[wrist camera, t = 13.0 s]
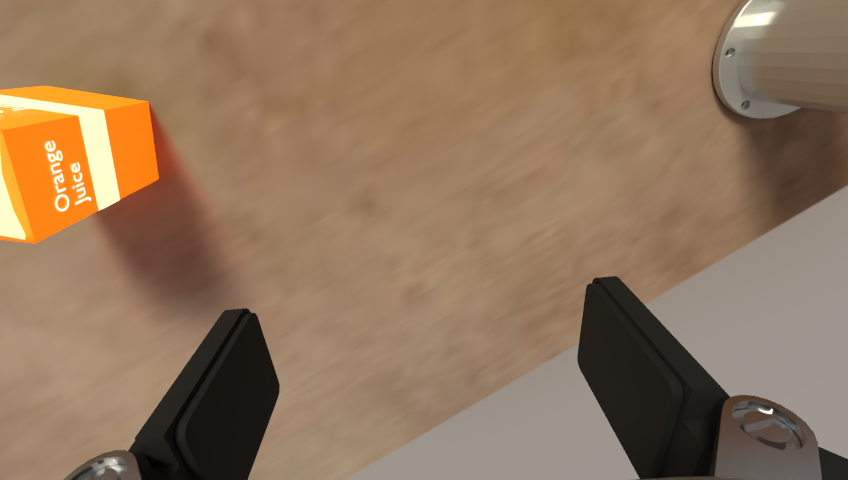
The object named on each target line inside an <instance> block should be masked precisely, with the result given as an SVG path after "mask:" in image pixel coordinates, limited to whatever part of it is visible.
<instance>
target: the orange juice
mask: <svg viewBox="0 0 848 480" xmlns="http://www.w3.org/2000/svg"><path fill="white" fill-rule="evenodd" d="M158 179H159V176H158V169H157V162H156V154H155V147H154V140H153V132H152V125H151V118H150V110H149V103H148V102H147V101H141V100H134V99H128V98H121V97H115V96H108V95H102V94H95V93H89V92H82V91H76V90H69V89H63V88H56V87H50V86H39V87H28V88H18V89H7V90H0V239H1V240H10V241H19V242H28V243H37V242H39V241H41V240H43V239H45V238H47V237H49V236H51V235H52V234H54V233H56V232H58V231H60V230H62V229H64V228H66V227H68V226H70V225H72V224H74V223H76V222H77V221H79V220H81V219H83V218H85V217H87V216H89V215H91V214H93V213H95V212H97V211H100V210H102V209H104V208H106V207H108V206H110V205H112V204H114V203H115V202H117V201H119V200H120V199H122V198H124V197H125V196H127V195H129V194H131V193H133V192H135V191H137V190H139V189H141V188H143V187H145V186H147V185H149V184H150V183H152V182H154V181H156V180H158Z"/></svg>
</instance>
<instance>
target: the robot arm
mask: <svg viewBox="0 0 848 480" xmlns="http://www.w3.org/2000/svg"><path fill="white" fill-rule="evenodd" d="M713 82H714V86H715V89H716V92H717V95H718V96H719V98H720V100H721V101H722V103H723V104H724V105H725V106H726V107H727V108H728V109H730V110H731V111H733V112H735V113H737V114H739V115H742V116H746V117H750V118H758V119H768V118H776V117H779V116H783V115H786V114H789V113H791V112H793V111H796V110H798V109H800V108H802V107H803V108H810V109H817V110H824V111H831V112H838V113H845V114H848V0H743V1H742V2H741V4H740V5H739V6H738V8H737V9H736V10H735V11H734V13H733V14H732V15H731V17H730V19H729V20H728V22H727V24H726V25H725V27H724V29H723V31H722V34H721V36H720V38H719V41H718V43H717V47H716V51H715V54H714V60H713ZM578 365H579V367H580V370H581V372H582V374H583V375H584V377H585V379H586V381H587V382H588V385H589V386H590V388H591V390H592V392H593V394H594V396H595V397H596V399H597V401H598V403H599V405H600V407H601V408H602V410H603V412H604V414H605V416H606V417H607V419H608V421H609V423H610V425H611V427H612V428H613V430H614V432H615V434H616V436H617V438H618V439H619V441H620V443H621V445H622V446H623V448H624V450H625V452H626V454H627V456H628V458H629V459H630V461H631V463H632V465H633V467H634V469H635V471H636V472H637V474H638V476H639V478H640V479H639V480H848V459H846V458H844V457H841V456H839V455H837V454H834V453H832V452H829V451H827V450H825V449H823V448H820V447H818V443H817V440H816V437H815V434H814V433H813V431H812V430H811V429H810V427H809V426H808V425H807V424H806V423H805V422H804V421H803V420H802V419H801V418H799V417H798V416H797V415H796V414H794V413H793V412H791V411H790V410H788V409H786V408H785V407H783V406H782V405H779V404H777V403H775V402H772V401H770V400H767V399H763V398H760V397H756V396H750V395H738V396H732V397H730V396H729V395H728V394H727V393H726V392H725V391H724V390H723V389H722V388H721V386H720V385H719V384H718V383H717V382H716V381H715V380H714V379H713V378H712V377H711V376H710V375H709V374H708V373H707V372H706V370H705V369H704V368H703V367H702V366H701V365H700V364H699V363H698V362H697V361H696V360H695V359H694V358H693V357H692V356H691V354H690V353H689V352H688V351H687V350H686V349H685V348H684V347H683V346H682V345H681V344H680V343H679V342H678V341H677V340H676V339H675V337H674V336H673V335H672V334H671V333H670V332H669V331H668V330H667V329H666V328H665V327H664V326H663V325H662V323H661V322H660V321H659V320H658V319H657V318H656V317H655V316H654V315H653V314H652V313H651V312H650V311H649V310H648V309H647V308H646V306H645V305H644V304H643V303H642V302H641V301H640V300H639V299H638V298H637V297H636V296H635V295H634V294H633V293H632V291H631V290H630V289H629V288H628V287H627V286H626V285H625V284H624V283H623V282H622V281H621V280H620V279H619V278H618V277H616V276H613V277H601V278H595V279H594V280H593V282H592V283H591V284H588V285H587V288H586V295H585V302H584V310H583V318H582V326H581V333H580V341H579V349H578ZM278 395H279V381H278V378H277V375H276V372H275V369H274V366H273V363H272V360H271V357H270V354H269V351H268V348H267V345H266V342H265V339H264V335H263V332H262V329H261V326H260V323H259V320H258V317H257V315H256V314H255V313H251V312H250V311H249V309H246V308H245V309H233V310H226V311H224V312H223V313H222V314H221V316H220V317H219V319H218V320H217V322H216V323H215V324H214V326H213V327H212V329H211V330H210V332H209V333H208V334H207V336H206V337H205V339H204V340H203V342H202V343H201V344H200V346H199V347H198V349H197V350H196V352H195V353H194V354H193V356H192V357H191V359H190V360H189V362H188V363H187V364H186V366H185V367H184V369H183V370H182V372H181V373H180V374H179V376H178V377H177V379H176V380H175V382H174V383H173V384H172V386H171V387H170V389H169V390H168V392H167V393H166V394H165V396H164V397H163V399H162V400H161V402H160V403H159V404H158V406H157V407H156V409H155V410H154V412H153V413H152V414H151V416H150V417H149V419H148V420H147V422H146V423H145V424H144V426H143V427H142V429H141V430H140V432H139V433H138V434H137V436H136V437H135V442H134V443H133V445H132V446H131V448H130V449H129V450H128V451H126V450H114V451H110V452H107V453H103V454H101V455H99V456H96V457H94V458H92V459H90V460H88V461H87V462H85V463H84V464H82V465H81V466H79V467H77V468H76V469H75V470H74V471H73V472H71V473H70V474H69V475H68V476H67V477H66V478H64V480H248V477H249V474H250V471H251V469H252V466H253V463H254V461H255V458H256V455H257V452H258V450H259V447H260V444H261V442H262V439H263V436H264V434H265V431H266V428H267V425H268V423H269V420H270V417H271V415H272V412H273V409H274V407H275V404H276V401H277V398H278Z"/></svg>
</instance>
